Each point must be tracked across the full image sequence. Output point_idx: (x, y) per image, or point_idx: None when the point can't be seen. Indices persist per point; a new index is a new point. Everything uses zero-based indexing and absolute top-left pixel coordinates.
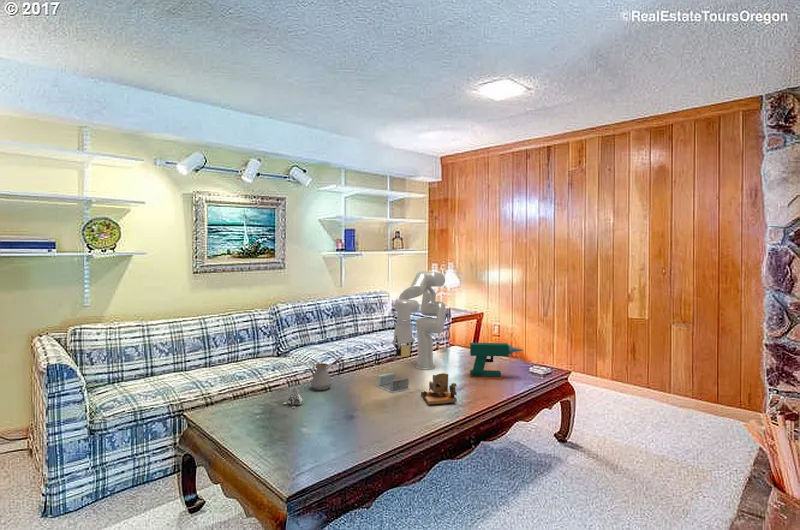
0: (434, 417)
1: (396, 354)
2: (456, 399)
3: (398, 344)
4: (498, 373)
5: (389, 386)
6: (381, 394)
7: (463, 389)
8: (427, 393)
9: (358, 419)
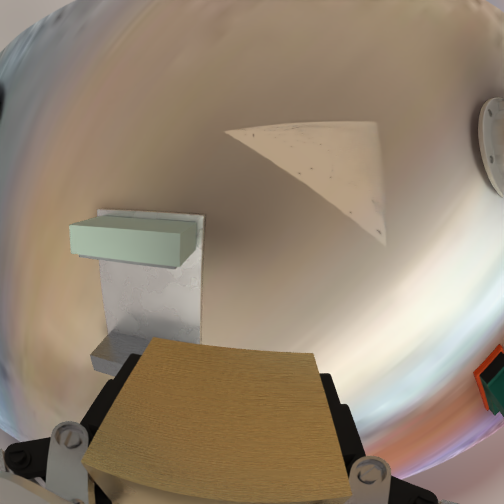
0: None
1: (129, 356)
2: None
3: (94, 499)
4: (493, 412)
5: (131, 284)
6: (74, 324)
7: None
8: None
9: (13, 389)
